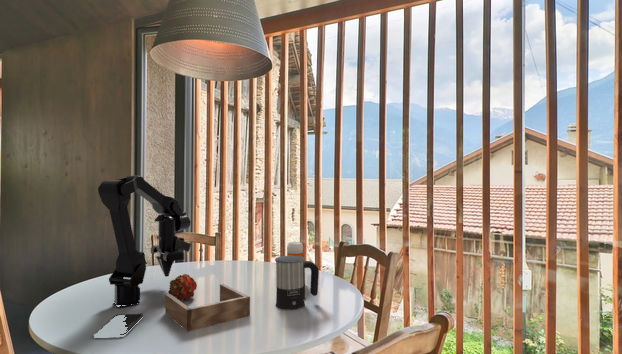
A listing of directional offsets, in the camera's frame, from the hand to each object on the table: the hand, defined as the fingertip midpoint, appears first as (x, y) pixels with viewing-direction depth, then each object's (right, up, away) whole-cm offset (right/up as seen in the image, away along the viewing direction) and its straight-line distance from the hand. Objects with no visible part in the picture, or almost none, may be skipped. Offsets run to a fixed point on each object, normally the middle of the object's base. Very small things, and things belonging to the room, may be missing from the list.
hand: (166, 276), depth 140 cm
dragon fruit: (+10, -4, -12) cm, 16 cm away
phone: (+1, -5, -37) cm, 37 cm away
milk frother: (+46, -4, -15) cm, 48 cm away
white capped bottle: (+46, -4, +6) cm, 47 cm away
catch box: (+22, -4, -27) cm, 35 cm away
